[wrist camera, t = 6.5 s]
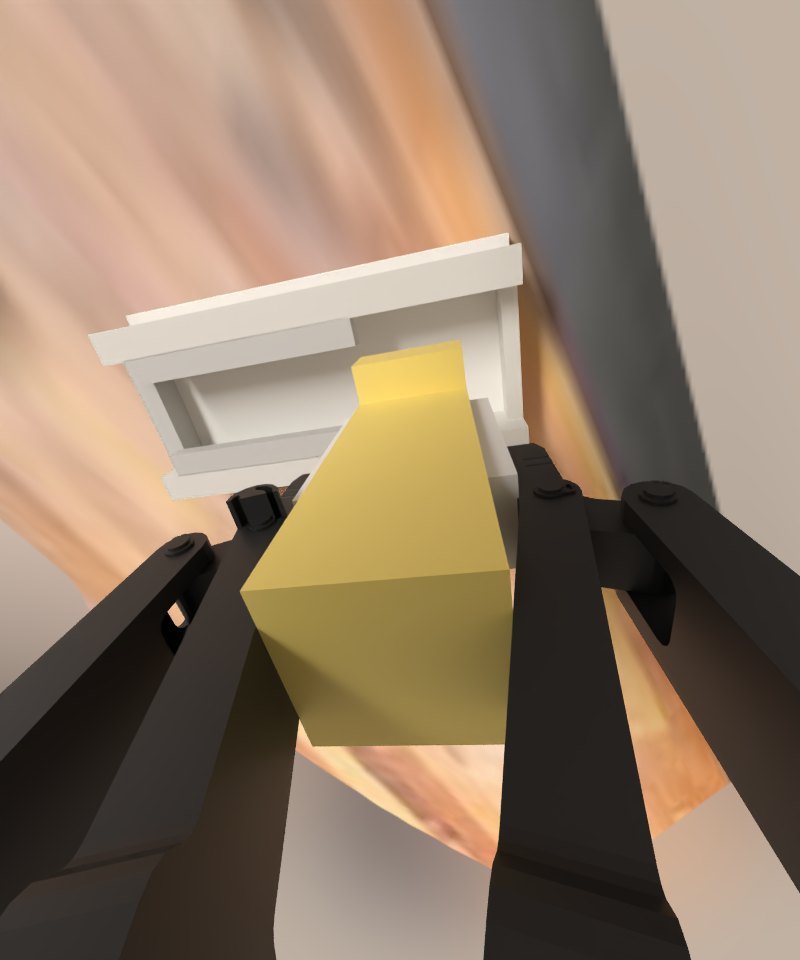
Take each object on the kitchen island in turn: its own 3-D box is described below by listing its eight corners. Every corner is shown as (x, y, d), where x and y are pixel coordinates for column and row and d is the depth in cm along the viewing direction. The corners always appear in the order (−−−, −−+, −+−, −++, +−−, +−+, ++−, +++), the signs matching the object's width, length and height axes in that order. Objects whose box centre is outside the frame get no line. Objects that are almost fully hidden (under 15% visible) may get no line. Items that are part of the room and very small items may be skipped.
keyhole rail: (135, 314, 29) (81, 321, 25) (506, 234, 25) (520, 225, 20) (209, 480, 35) (176, 509, 31) (517, 438, 31) (530, 465, 27)
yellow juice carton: (360, 357, 16) (202, 513, 5) (459, 339, 15) (502, 477, 5) (392, 500, 19) (330, 785, 8) (476, 491, 18) (526, 786, 8)
